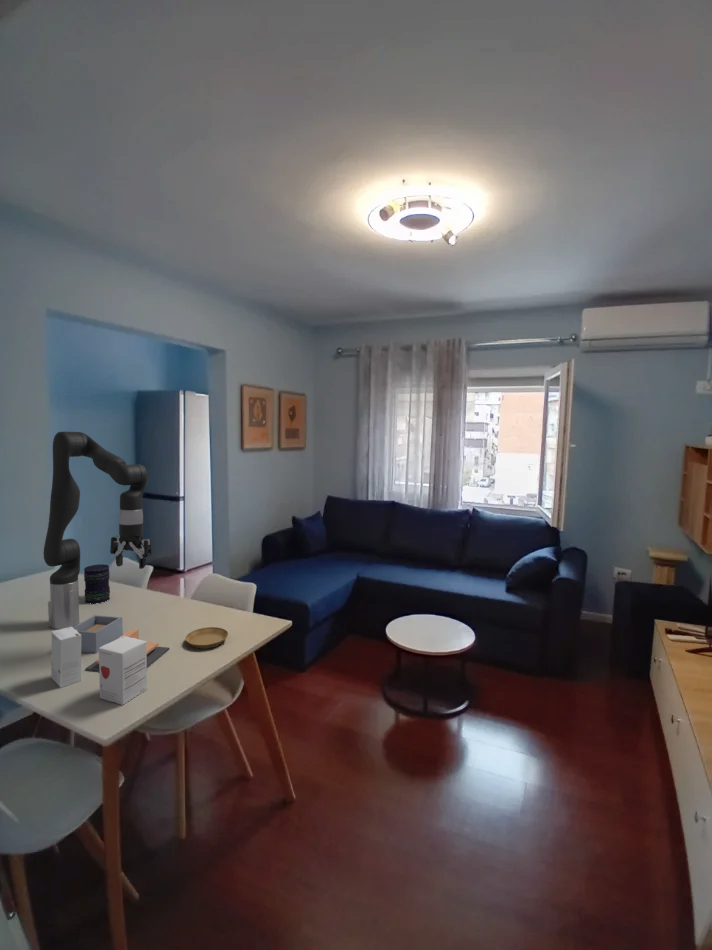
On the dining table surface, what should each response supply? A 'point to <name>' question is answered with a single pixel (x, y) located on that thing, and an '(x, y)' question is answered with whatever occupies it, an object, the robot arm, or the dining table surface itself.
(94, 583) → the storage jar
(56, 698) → the dining table surface
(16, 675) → the dining table surface
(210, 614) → the dining table surface
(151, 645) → the peach handled lid
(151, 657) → the black rubber mat
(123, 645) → the supplement box
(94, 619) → the slate storage box
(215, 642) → the plant saucer
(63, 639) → the skincare box
